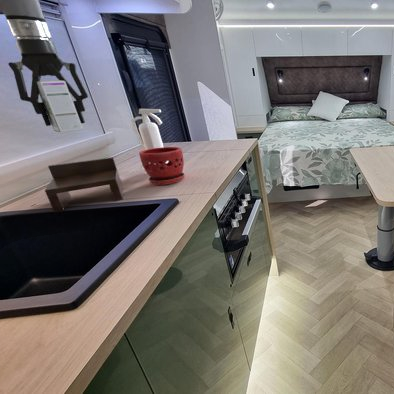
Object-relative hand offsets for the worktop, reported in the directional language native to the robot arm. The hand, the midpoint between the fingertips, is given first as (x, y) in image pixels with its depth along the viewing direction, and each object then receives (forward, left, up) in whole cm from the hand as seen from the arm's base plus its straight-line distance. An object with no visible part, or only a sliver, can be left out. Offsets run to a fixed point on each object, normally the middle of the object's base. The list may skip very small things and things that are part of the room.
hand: (66, 123), depth 89 cm
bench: (0, -6, -23) cm, 24 cm away
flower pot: (+22, -1, -23) cm, 32 cm away
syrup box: (0, 0, -2) cm, 2 cm away
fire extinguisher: (+20, +16, -23) cm, 35 cm away
